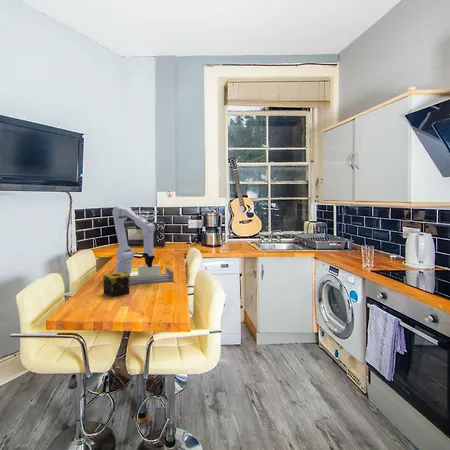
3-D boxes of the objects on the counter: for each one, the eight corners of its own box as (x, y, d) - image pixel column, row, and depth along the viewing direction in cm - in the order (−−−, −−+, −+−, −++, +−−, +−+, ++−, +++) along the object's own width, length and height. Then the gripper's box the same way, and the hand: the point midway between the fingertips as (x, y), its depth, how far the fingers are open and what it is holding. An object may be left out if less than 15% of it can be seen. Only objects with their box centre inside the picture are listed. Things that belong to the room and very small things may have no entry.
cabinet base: (126, 285, 192) (126, 274, 191) (124, 279, 205) (124, 269, 204) (173, 281, 202) (173, 271, 201) (168, 276, 215) (168, 266, 214)
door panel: (138, 279, 200) (138, 266, 199) (138, 279, 202) (138, 266, 201) (158, 278, 204) (158, 265, 204) (158, 277, 206) (158, 264, 206)
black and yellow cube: (120, 289, 184) (120, 271, 183) (130, 293, 176) (130, 274, 176) (102, 293, 177) (102, 274, 176) (111, 297, 169) (111, 278, 168)
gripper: (157, 244, 196) (157, 267, 197) (153, 241, 209) (153, 263, 211) (145, 245, 193) (145, 268, 195) (141, 241, 207) (141, 263, 208)
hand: (148, 265), depth 203 cm, fingers open, 7 cm apart
